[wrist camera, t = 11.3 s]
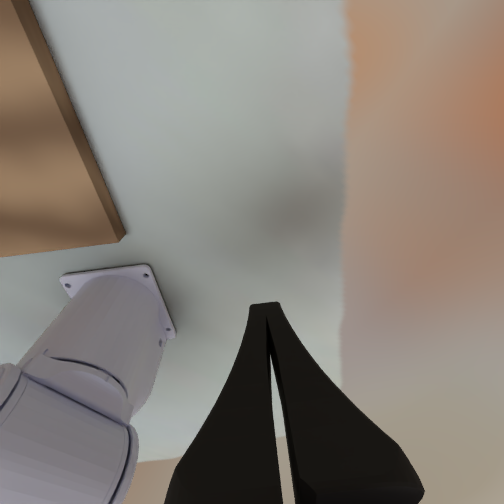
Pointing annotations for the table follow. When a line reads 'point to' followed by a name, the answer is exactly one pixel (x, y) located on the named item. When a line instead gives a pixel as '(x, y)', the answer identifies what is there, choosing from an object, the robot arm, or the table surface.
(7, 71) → the board
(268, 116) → the table surface
